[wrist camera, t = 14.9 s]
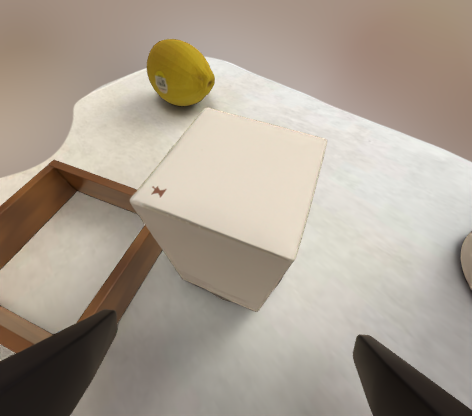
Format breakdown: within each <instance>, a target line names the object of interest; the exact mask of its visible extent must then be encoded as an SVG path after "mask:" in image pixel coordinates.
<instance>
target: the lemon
mask: <svg viewBox="0 0 472 416" xmlns="http://www.w3.org/2000/svg"><path fill="white" fill-rule="evenodd" d="M147 74H148V77H149V80H150V83H151V84H152V86H153V88H154V90H155V91H156V92H157V93H158V94H159V96H160V97H161V98H163V99H164V100H165V101H167V102H168V103H171V104H174V105H177V106H189V105H192V104H195V103H198V102H200V101H201V100H202V99H203V98H204V97H205V96H206V95H208V94H209V92H210V90H211V89H212V87H213V86H214V81H215V77H214V74H213V72H212V71H211V69H210V66H209V64H208V62H207V61H206V59H205V58H204V56H203V55H202V54H201V53H200V52H199V51H198V50H197V49H196V48H194V47H193V46H192V45H190V44H188V43H186V42H183V41H180V40H176V39H167V40H162V41H159V42H158V43H157V44H155V45H154V46H153V48H152V49H151V51H150V53H149V56H148V60H147Z"/></svg>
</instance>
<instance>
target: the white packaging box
mask: <svg viewBox="0 0 472 416" xmlns="http://www.w3.org/2000/svg"><path fill="white" fill-rule="evenodd" d="M326 145H327V140H326V139H323V138H320V137H316V136H313V135H309V134H306V133H302V132H298V131H295V130H291V129H287V128H283V127H280V126H276V125H272V124H268V123H265V122H261V121H257V120H253V119H249V118H245V117H241V116H237V115H233V114H229V113H226V112H222V111H219V110H215V109H212V108H209V107H207V108H205V109H203V110H202V111H201V113H200V114H199V115H198V116H197V118H196V119H195V120H194V122H193V123H192V124H191V125H190V126H189V128H188V129H187V130H186V131H185V133H184V134H183V135H182V136H181V138H180V139H179V140H178V141H177V142H176V144H175V145H174V146H173V147H172V148H171V149H170V150H169V152H168V153H167V155H166V156H165V157H164V158H163V160H162V161H161V162H160V163H159V165H158V166H157V167H156V168H155V170H154V171H153V172H152V173H151V174H150V176H149V177H148V178H147V179H146V180H145V182H144V183H143V184H142V185H141V187H140V188H139V189H138V190H137V192H136V193H135V194H134V195H133V196H132V197H131V198H130V203H131V205H132V207H133V208H134V209H135V211H136V212H137V214H138V215H139V216H140V218H141V219H142V221H143V222H144V224H145V225H146V227H147V228H148V230H149V231H150V232H151V234H152V235H153V237H154V238H155V240H156V241H157V243H158V244H159V245H160V247H161V248H162V250H163V251H164V253H165V254H166V256H167V257H168V259H169V260H170V262H171V263H172V264H173V266H174V267H175V269H176V270H177V272H178V273H179V275H180V276H181V278H182V279H183V280H186V281H188V282H190V283H192V284H195V285H197V286H199V287H202V288H204V289H206V290H208V291H210V292H213V293H215V294H217V295H219V296H221V297H224V298H226V299H228V300H230V301H232V302H235V303H237V304H239V305H241V306H244V307H246V308H248V309H250V310H253V311H255V312H258V311H259V310H260V308H261V307H262V305H263V304H264V302H265V301H266V300H267V298H268V297H269V295H270V294H271V292H272V291H273V289H274V288H275V287H276V285H277V284H278V282H279V281H280V279H281V278H282V277H283V275H284V274H285V272H286V271H287V270H288V268H289V267H290V265H291V264H292V263H293V262H294V260H295V258H296V255H297V252H298V249H299V246H300V243H301V239H302V236H303V232H304V229H305V225H306V221H307V218H308V214H309V211H310V207H311V203H312V200H313V196H314V192H315V188H316V184H317V180H318V176H319V173H320V169H321V165H322V161H323V158H324V153H325V149H326Z"/></svg>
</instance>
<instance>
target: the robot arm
mask: <svg viewBox="0 0 472 416" xmlns="http://www.w3.org/2000/svg"><path fill="white" fill-rule="evenodd" d="M116 333H117V313H116V311H115V310H110V309H104V310H102V311H100V312H98V313H96V314H94V315H92V316H90V317H88V318H86V319H84V320H82V321H80V322H78V323H76V324H74V325H72V326H70V327H68V328H66V329H64V330H62V331H60V332H58V333H56V334H54V335H52V336H50V337H48V338H46V339H44V340H42V341H40V342H38V343H36V344H34V345H32V346H30V347H28V348H26V349H24V350H22V351H20V352H18V353H16V354H14V355H12V356H10V357H8V358H6V359H4V360H2V361H0V416H70V415H71V413H72V412H73V410H74V408H75V407H76V405H77V404H78V402H79V401H80V399H81V397H82V396H83V394H84V393H85V391H86V389H87V388H88V386H89V385H90V383H91V381H92V380H93V378H94V376H95V374H96V372H97V370H98V369H99V367H100V365H101V363H102V361H103V359H104V357H105V355H106V353H107V351H108V349H109V347H110V345H111V344H112V342H113V340H114V338H115V336H116ZM353 359H354V363H355V366H356V369H357V371H358V374H359V377H360V380H361V383H362V386H363V389H364V392H365V395H366V398H367V401H368V404H369V407H370V409H371V412H372V414H373V416H472V410H471V409H470V408H468V407H467V406H465V405H464V404H463V403H461V402H460V401H459V400H457V399H456V398H455V397H453V396H452V395H450V394H449V393H448V392H446V391H445V390H444V389H442V388H441V387H440V386H438V385H437V384H435V383H434V382H433V381H431V380H430V379H429V378H427V377H426V376H425V375H423V374H422V373H420V372H419V371H418V370H416V369H415V368H414V367H412V366H411V365H410V364H408V363H407V362H406V361H404V360H403V359H401V358H400V357H399V356H397V355H396V354H395V353H393V352H392V351H391V350H389V349H388V348H386V347H385V346H384V345H382V344H381V343H380V342H378V341H377V340H376V339H374V338H373V337H371V336H369V335H358V336H357V338H356V342H355V346H354V351H353Z"/></svg>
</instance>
